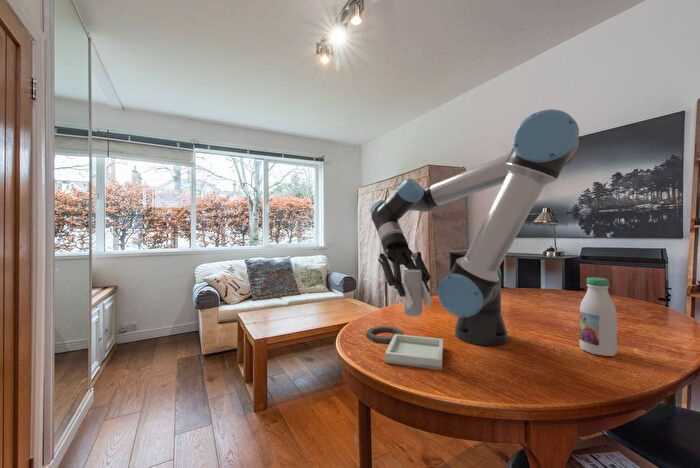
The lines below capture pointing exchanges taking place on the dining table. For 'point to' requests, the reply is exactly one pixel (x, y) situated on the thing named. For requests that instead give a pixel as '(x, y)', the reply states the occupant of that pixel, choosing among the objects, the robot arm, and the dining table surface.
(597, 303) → the milk bottle
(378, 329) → the seat ring
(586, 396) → the dining table surface
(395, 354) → the tray
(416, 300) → the beverage can
